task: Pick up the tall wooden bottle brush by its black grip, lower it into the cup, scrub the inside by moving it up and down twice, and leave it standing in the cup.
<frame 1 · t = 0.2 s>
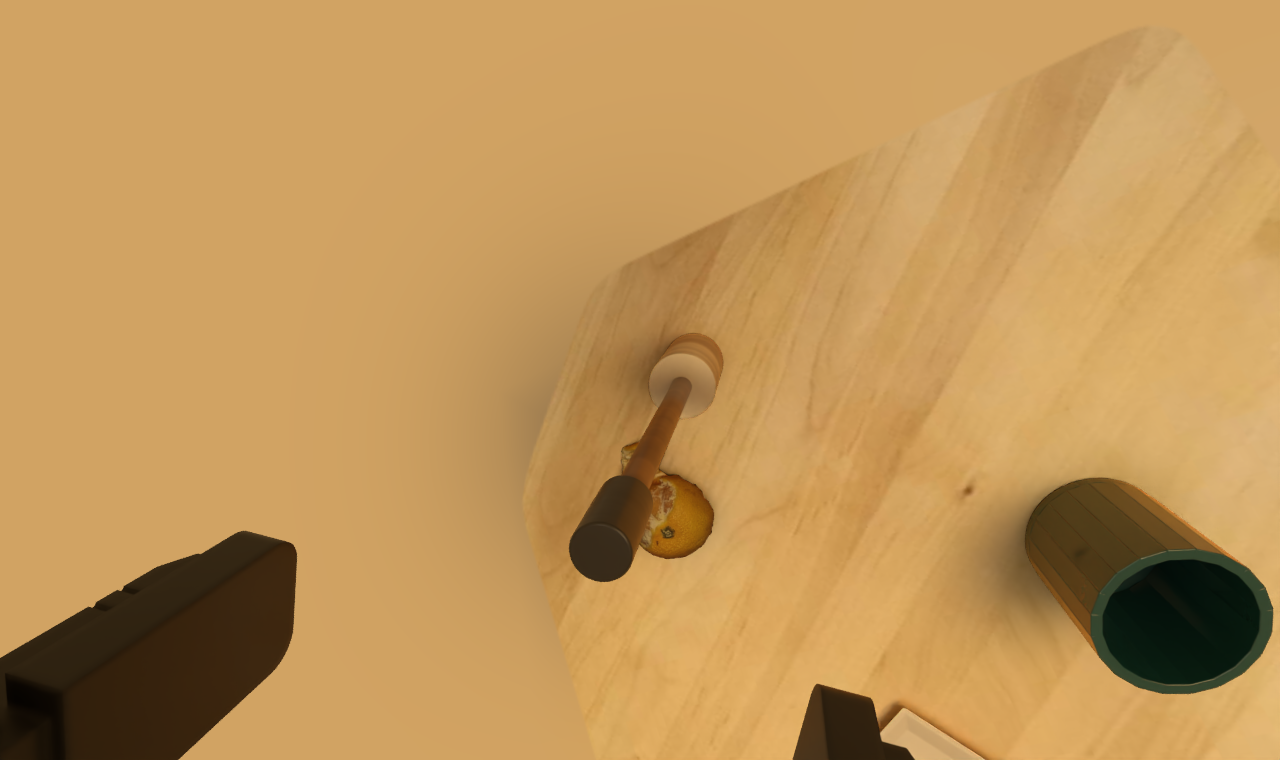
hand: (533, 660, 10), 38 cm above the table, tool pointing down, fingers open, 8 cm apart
cup: (1094, 537, 46), on the table
fruit: (654, 490, 51), on the table
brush: (693, 362, 48), on the table
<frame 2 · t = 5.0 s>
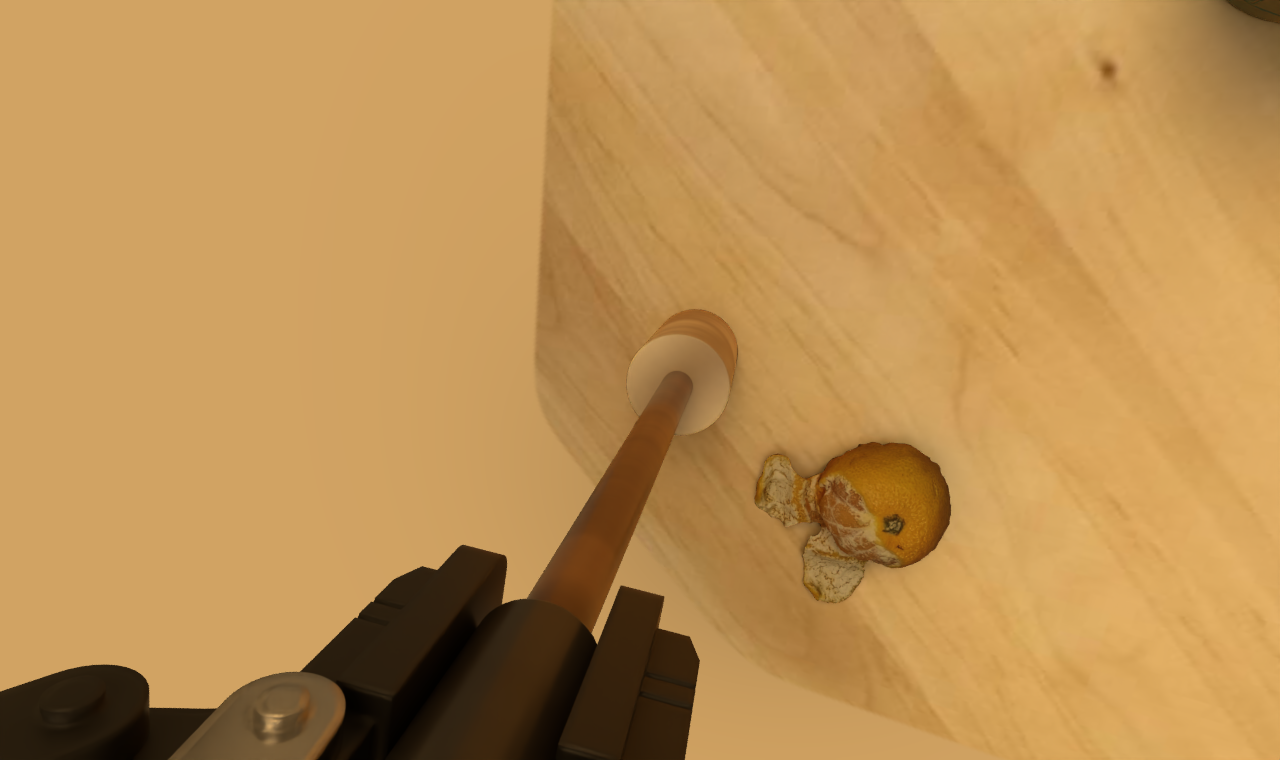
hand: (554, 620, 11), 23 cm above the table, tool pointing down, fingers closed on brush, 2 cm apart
fruit: (836, 500, 34), on the table
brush: (695, 351, 33), on the table, touching gripper
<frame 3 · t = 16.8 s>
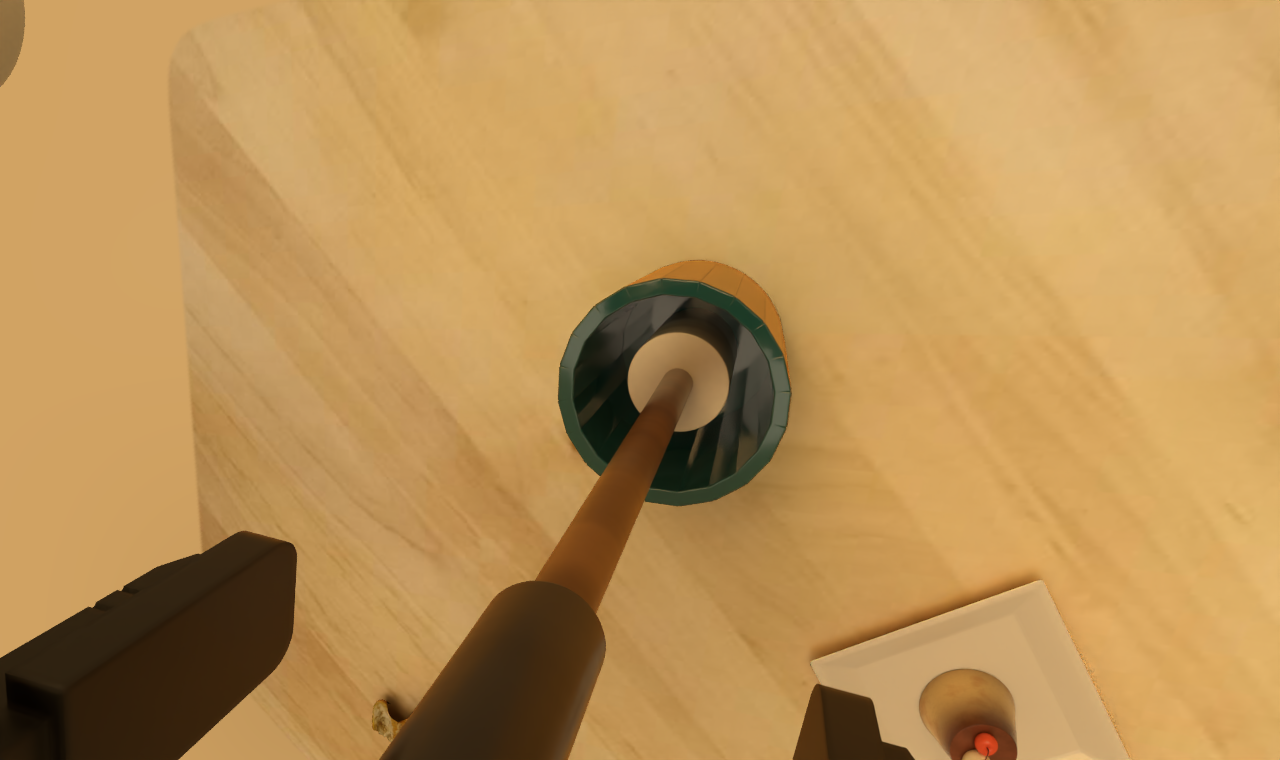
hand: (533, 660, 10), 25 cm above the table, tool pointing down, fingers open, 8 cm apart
dessert: (964, 702, 37), on the table
cup: (697, 345, 35), on the table
fruit: (437, 730, 43), on the table
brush: (695, 349, 34), point 1 cm above the table, touching cup
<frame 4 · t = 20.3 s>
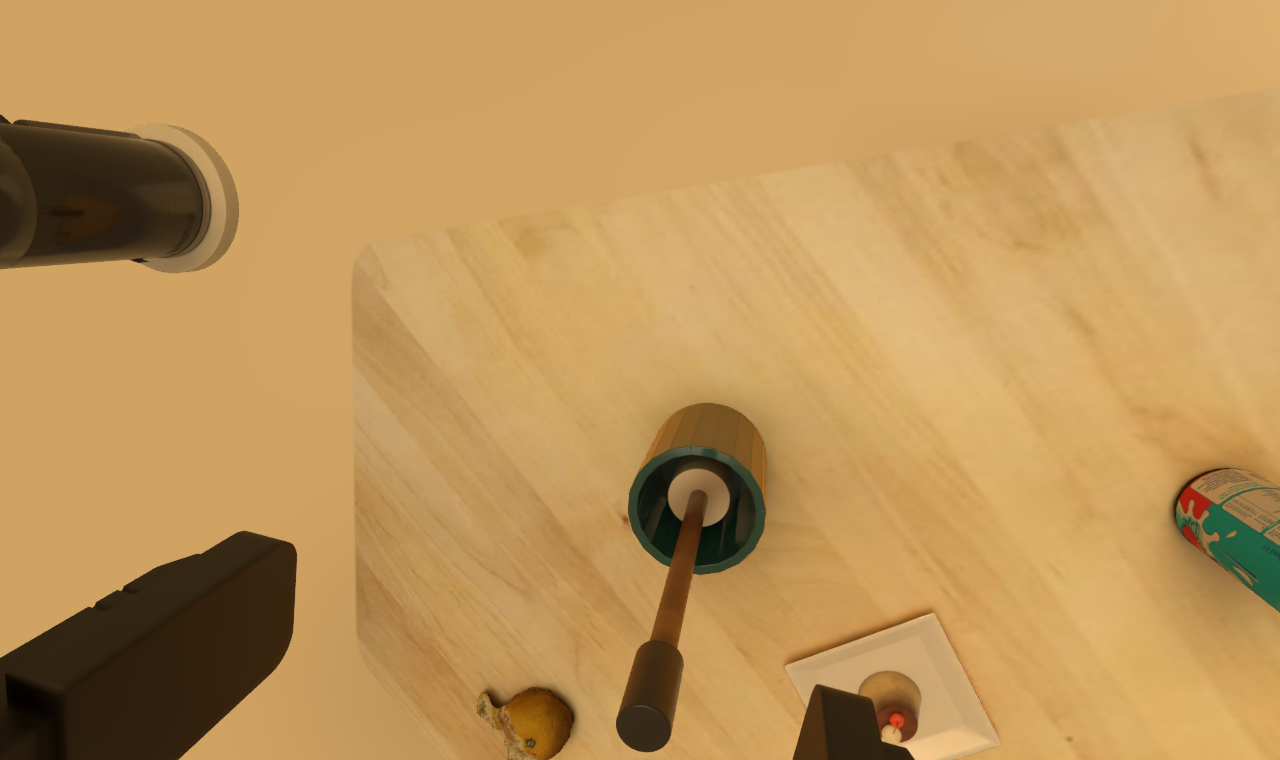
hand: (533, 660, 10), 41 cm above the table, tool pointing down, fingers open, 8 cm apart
dessert: (888, 693, 55), on the table
cup: (708, 457, 52), on the table
fruit: (522, 714, 61), on the table
beverage can: (1217, 505, 47), on the table
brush: (707, 461, 52), point 1 cm above the table, touching cup
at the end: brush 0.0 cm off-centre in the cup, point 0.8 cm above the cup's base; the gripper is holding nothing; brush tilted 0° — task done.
